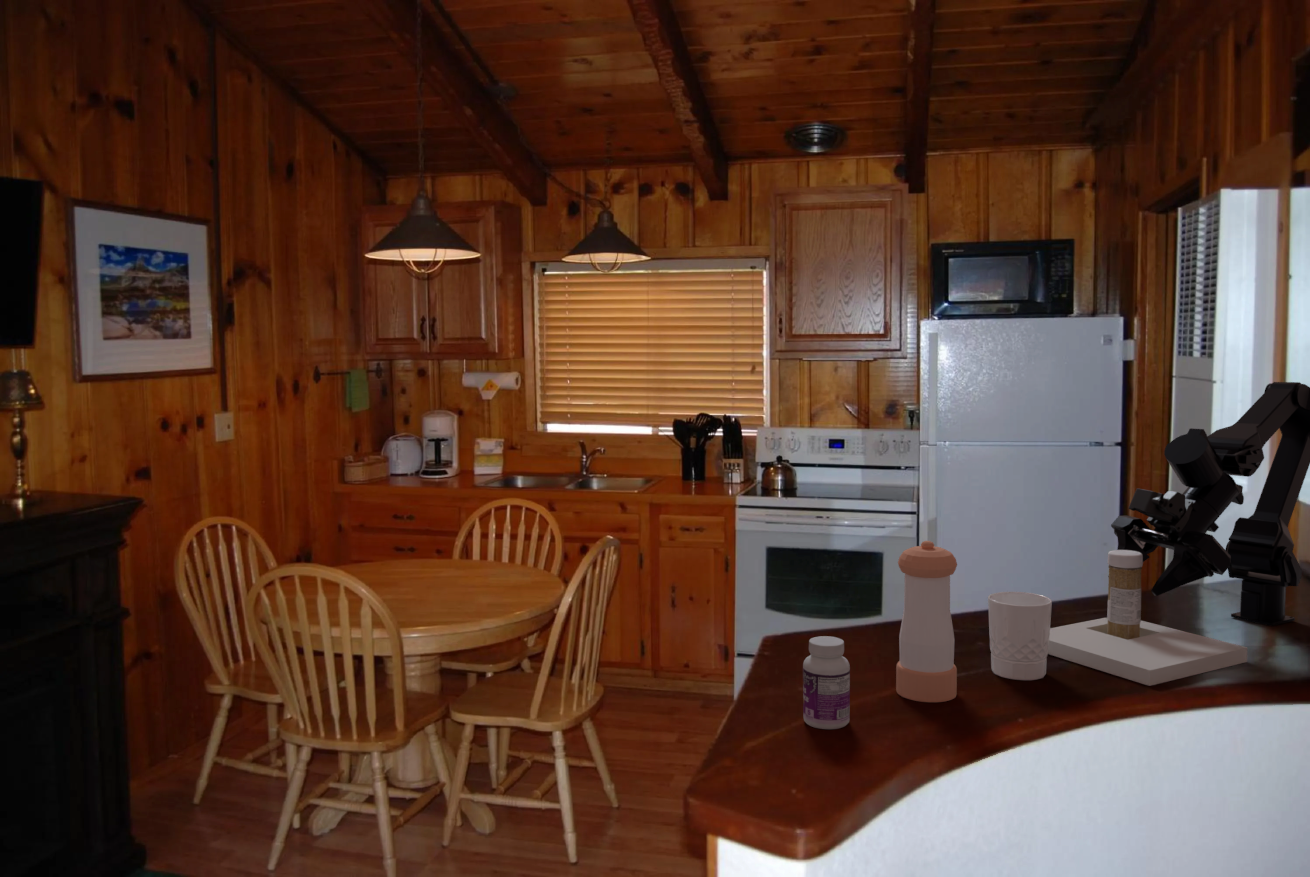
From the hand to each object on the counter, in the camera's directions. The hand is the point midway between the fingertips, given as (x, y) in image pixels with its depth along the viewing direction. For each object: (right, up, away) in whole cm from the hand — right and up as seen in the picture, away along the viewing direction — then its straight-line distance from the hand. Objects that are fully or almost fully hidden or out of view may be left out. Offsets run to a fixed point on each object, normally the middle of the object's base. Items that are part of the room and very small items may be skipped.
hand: (1131, 586), depth 147 cm
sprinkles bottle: (-1, -9, 0) cm, 9 cm away
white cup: (-21, -10, -12) cm, 26 cm away
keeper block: (-2, -9, -5) cm, 10 cm away
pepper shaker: (-35, -11, -20) cm, 41 cm away
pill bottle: (-49, -12, -29) cm, 58 cm away
